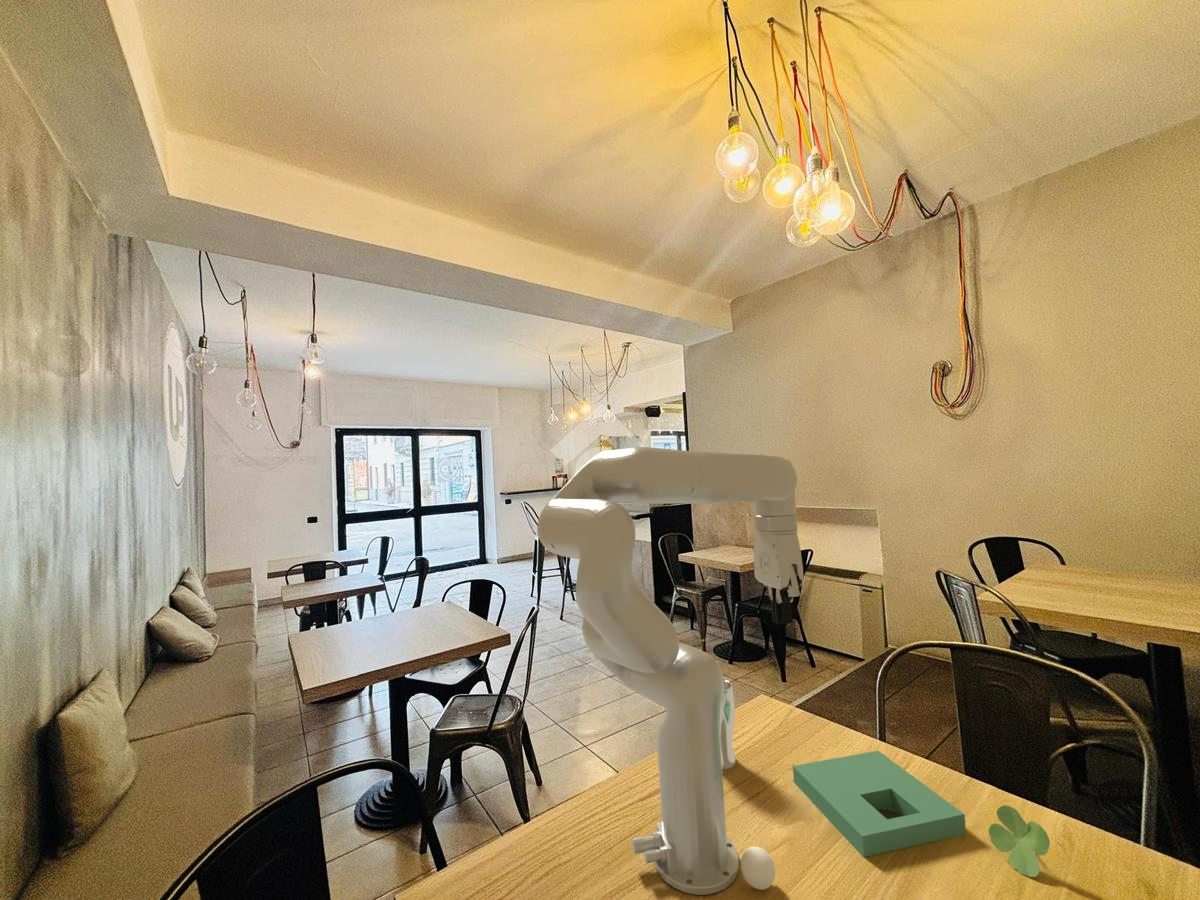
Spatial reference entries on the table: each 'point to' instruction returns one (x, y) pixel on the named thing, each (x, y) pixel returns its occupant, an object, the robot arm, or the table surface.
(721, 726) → the white bottle
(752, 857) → the ball
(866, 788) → the putting board
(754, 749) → the table surface
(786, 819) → the table surface
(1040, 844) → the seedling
